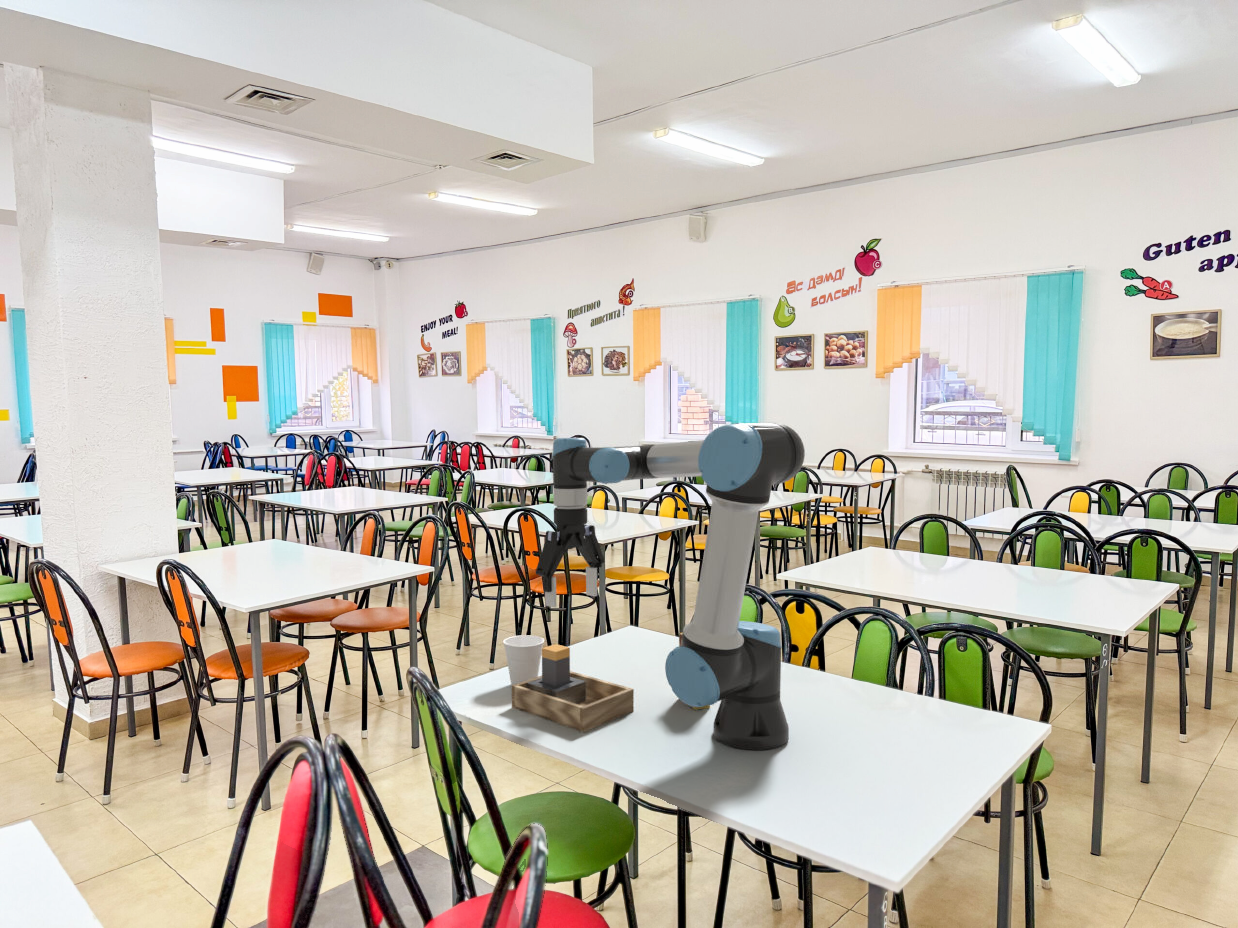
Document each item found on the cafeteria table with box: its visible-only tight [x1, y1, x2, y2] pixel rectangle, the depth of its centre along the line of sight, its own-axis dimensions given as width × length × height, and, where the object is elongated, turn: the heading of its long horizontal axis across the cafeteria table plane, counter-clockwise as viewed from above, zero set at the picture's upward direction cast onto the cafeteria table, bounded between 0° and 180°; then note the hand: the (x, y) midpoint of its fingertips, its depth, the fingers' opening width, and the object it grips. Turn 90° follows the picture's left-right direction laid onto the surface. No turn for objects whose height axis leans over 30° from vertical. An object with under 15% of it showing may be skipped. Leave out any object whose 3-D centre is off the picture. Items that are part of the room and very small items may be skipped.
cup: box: [502, 634, 545, 686], centre depth 204 cm, size 10×10×11 cm
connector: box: [541, 643, 571, 688], centre depth 191 cm, size 4×4×12 cm
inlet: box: [527, 677, 586, 704], centre depth 191 cm, size 9×9×4 cm
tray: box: [511, 670, 635, 733], centre depth 188 cm, size 22×16×5 cm
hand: (571, 600), depth 191 cm, fingers open, 13 cm apart
